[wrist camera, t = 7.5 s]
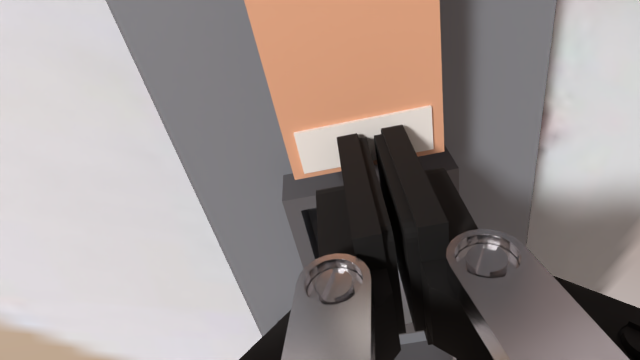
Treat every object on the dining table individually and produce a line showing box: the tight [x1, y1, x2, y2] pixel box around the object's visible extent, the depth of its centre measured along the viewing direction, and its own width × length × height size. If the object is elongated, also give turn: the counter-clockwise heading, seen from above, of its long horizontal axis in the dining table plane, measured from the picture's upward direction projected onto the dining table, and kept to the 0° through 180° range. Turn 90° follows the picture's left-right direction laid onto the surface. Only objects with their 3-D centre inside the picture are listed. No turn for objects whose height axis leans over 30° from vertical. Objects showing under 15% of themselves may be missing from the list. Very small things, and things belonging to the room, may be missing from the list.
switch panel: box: [106, 0, 557, 360], centre depth 14 cm, size 28×12×4 cm, turn 11°
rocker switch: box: [244, 0, 444, 180], centre depth 10 cm, size 5×4×1 cm
